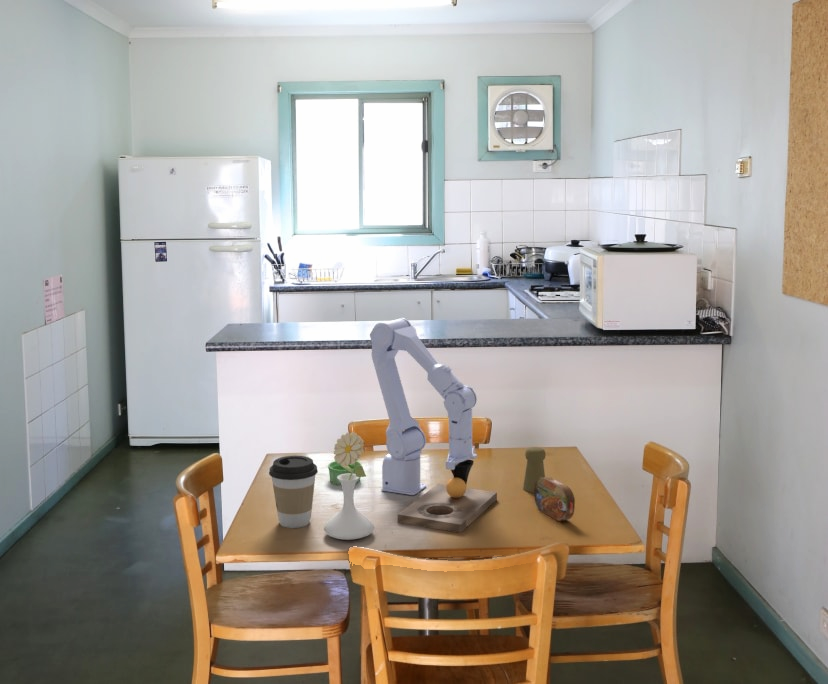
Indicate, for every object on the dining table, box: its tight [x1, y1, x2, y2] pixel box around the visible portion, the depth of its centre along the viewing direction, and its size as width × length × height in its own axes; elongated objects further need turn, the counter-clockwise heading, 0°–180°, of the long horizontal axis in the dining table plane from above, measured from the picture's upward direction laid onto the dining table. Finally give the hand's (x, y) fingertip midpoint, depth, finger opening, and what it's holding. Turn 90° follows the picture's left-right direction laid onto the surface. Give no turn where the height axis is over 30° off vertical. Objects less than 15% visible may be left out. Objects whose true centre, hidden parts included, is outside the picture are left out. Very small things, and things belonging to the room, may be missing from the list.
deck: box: [397, 483, 498, 534], centre depth 241 cm, size 16×24×2 cm, turn 155°
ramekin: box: [327, 460, 363, 486], centre depth 264 cm, size 9×9×4 cm
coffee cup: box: [268, 455, 319, 529], centre depth 233 cm, size 11×11×15 cm
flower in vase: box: [323, 431, 375, 541], centre depth 223 cm, size 13×11×25 cm
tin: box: [533, 476, 576, 522], centre depth 238 cm, size 15×3×8 cm, turn 23°
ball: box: [445, 477, 467, 498], centre depth 244 cm, size 5×5×5 cm
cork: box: [522, 446, 546, 494], centre depth 256 cm, size 6×6×11 cm
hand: (460, 489), depth 247 cm, fingers closed, pressing on ball
